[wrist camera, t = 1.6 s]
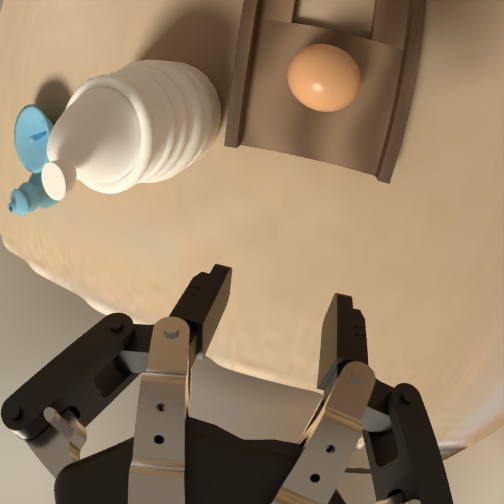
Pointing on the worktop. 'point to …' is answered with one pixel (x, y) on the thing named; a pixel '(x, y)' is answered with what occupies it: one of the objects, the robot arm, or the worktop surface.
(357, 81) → the ball
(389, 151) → the track
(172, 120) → the honey pot
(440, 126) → the worktop surface
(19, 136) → the light blue flared piece
